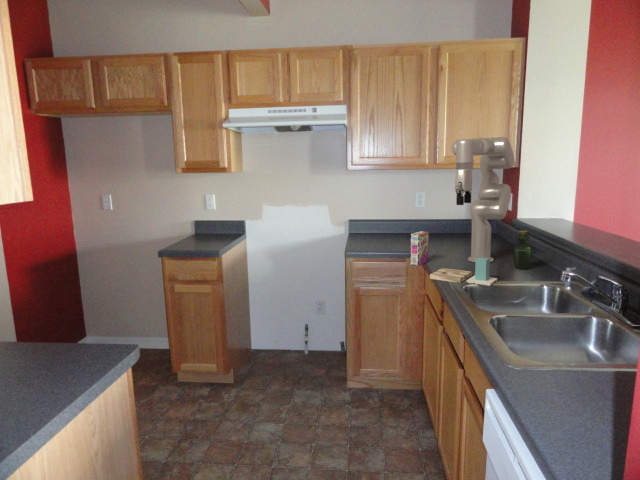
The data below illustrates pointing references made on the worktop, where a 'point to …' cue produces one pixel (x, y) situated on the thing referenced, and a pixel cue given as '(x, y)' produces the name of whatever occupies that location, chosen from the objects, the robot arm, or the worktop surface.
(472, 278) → the tile
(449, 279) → the pocket base
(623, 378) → the worktop surface
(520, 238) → the potion bottle
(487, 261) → the teal block
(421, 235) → the candy bar box
